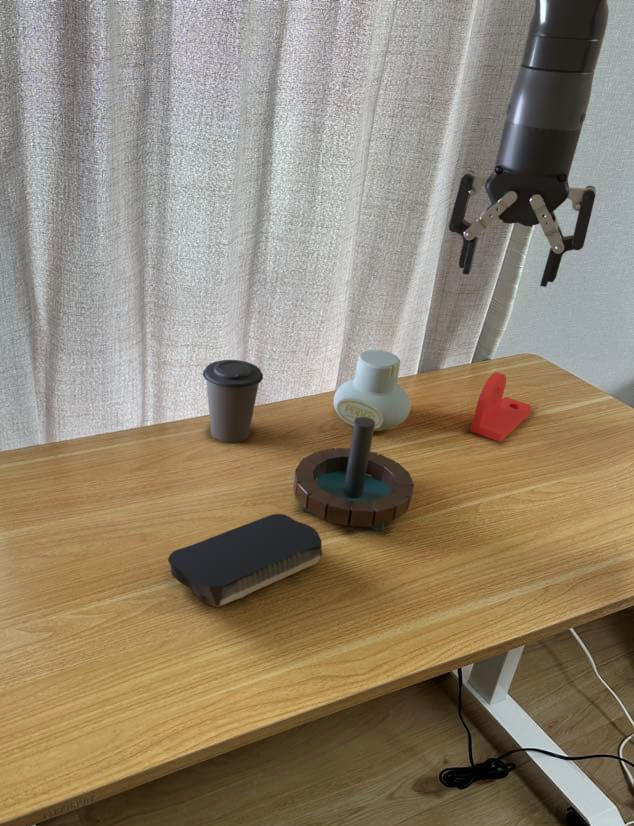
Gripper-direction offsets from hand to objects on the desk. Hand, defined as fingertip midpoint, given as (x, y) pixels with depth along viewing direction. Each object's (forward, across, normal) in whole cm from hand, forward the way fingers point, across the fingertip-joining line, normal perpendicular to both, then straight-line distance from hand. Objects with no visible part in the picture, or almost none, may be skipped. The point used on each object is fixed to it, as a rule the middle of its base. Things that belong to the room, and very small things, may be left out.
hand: (504, 278), depth 91 cm
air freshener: (+26, +14, -9) cm, 31 cm away
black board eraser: (+26, +18, +31) cm, 44 cm away
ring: (+25, +11, +12) cm, 30 cm away
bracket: (+26, -4, -18) cm, 32 cm away
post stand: (+26, +11, +12) cm, 31 cm away
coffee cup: (+26, +31, +3) cm, 41 cm away
